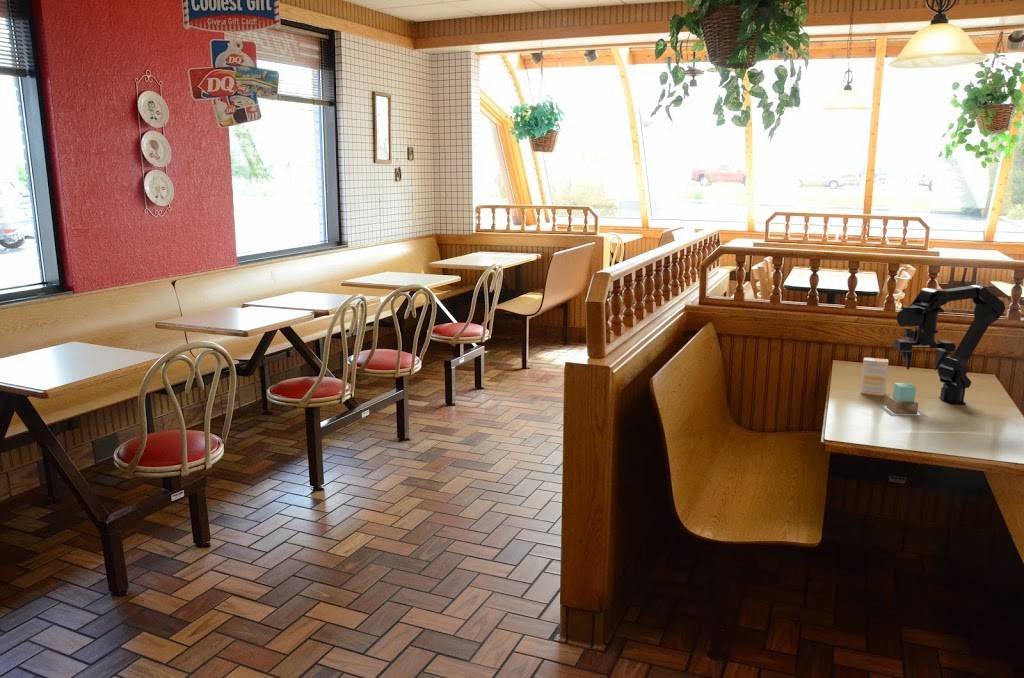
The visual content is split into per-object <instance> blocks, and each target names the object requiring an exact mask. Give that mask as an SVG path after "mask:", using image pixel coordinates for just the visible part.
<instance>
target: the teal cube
mask: <svg viewBox="0 0 1024 678" xmlns="http://www.w3.org/2000/svg"><path fill="white" fill-rule="evenodd" d="M893 384H894V385H893V389H892V390H893V391H892V396H893V398H895V399H896V400H897V401H899V402H914V400H915V399H916V390H917V387H916V386H915V385H913V384H912V383H910V382H906V383H905V382H894V383H893Z"/></svg>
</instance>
